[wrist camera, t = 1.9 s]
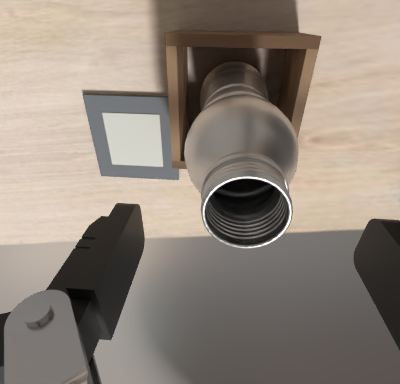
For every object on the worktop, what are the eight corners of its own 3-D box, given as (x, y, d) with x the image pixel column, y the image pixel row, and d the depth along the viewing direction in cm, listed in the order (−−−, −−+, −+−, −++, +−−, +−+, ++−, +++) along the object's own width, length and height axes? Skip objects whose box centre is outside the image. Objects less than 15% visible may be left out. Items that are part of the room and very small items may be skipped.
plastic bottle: (255, 46, 24) (321, 102, 8) (271, 114, 27) (342, 256, 11) (191, 72, 26) (132, 166, 9) (214, 133, 29) (201, 282, 13)
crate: (178, 30, 24) (165, 33, 19) (299, 32, 23) (321, 36, 18) (181, 141, 30) (172, 168, 25) (277, 145, 29) (289, 174, 24)
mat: (84, 94, 28) (82, 95, 28) (175, 97, 27) (175, 98, 27) (102, 174, 33) (100, 176, 33) (178, 178, 33) (178, 180, 32)
